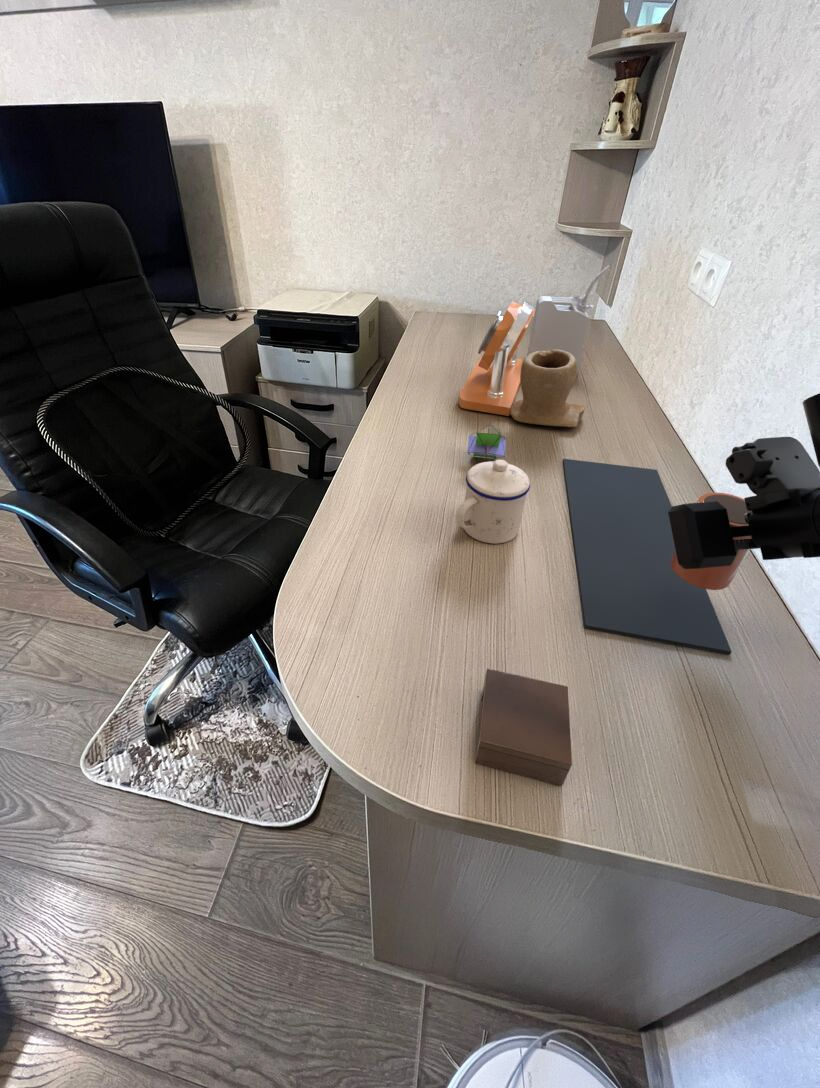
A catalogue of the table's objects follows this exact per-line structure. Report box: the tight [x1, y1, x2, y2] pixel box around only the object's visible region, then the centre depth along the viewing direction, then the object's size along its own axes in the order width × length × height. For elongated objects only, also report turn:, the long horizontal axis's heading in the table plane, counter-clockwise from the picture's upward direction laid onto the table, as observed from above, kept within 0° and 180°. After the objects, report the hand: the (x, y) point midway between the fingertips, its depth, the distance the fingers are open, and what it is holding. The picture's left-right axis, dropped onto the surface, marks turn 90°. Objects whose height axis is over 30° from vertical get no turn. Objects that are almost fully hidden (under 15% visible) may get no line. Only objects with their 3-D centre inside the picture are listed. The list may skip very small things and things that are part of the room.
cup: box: [671, 492, 752, 591], centre depth 56 cm, size 6×6×9 cm
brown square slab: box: [474, 668, 573, 787], centre depth 49 cm, size 8×8×4 cm
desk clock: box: [458, 301, 535, 417], centre depth 115 cm, size 12×30×20 cm, turn 159°
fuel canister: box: [526, 265, 612, 372], centre depth 124 cm, size 15×5×25 cm, turn 80°
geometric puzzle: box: [466, 423, 507, 462], centre depth 91 cm, size 7×7×8 cm
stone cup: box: [509, 349, 586, 428], centre depth 102 cm, size 15×12×15 cm
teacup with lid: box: [455, 459, 531, 545], centre depth 73 cm, size 12×9×12 cm
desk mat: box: [562, 458, 733, 655], centre depth 75 cm, size 40×16×1 cm, turn 166°
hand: (705, 536), depth 57 cm, fingers closed on cup, 6 cm apart
